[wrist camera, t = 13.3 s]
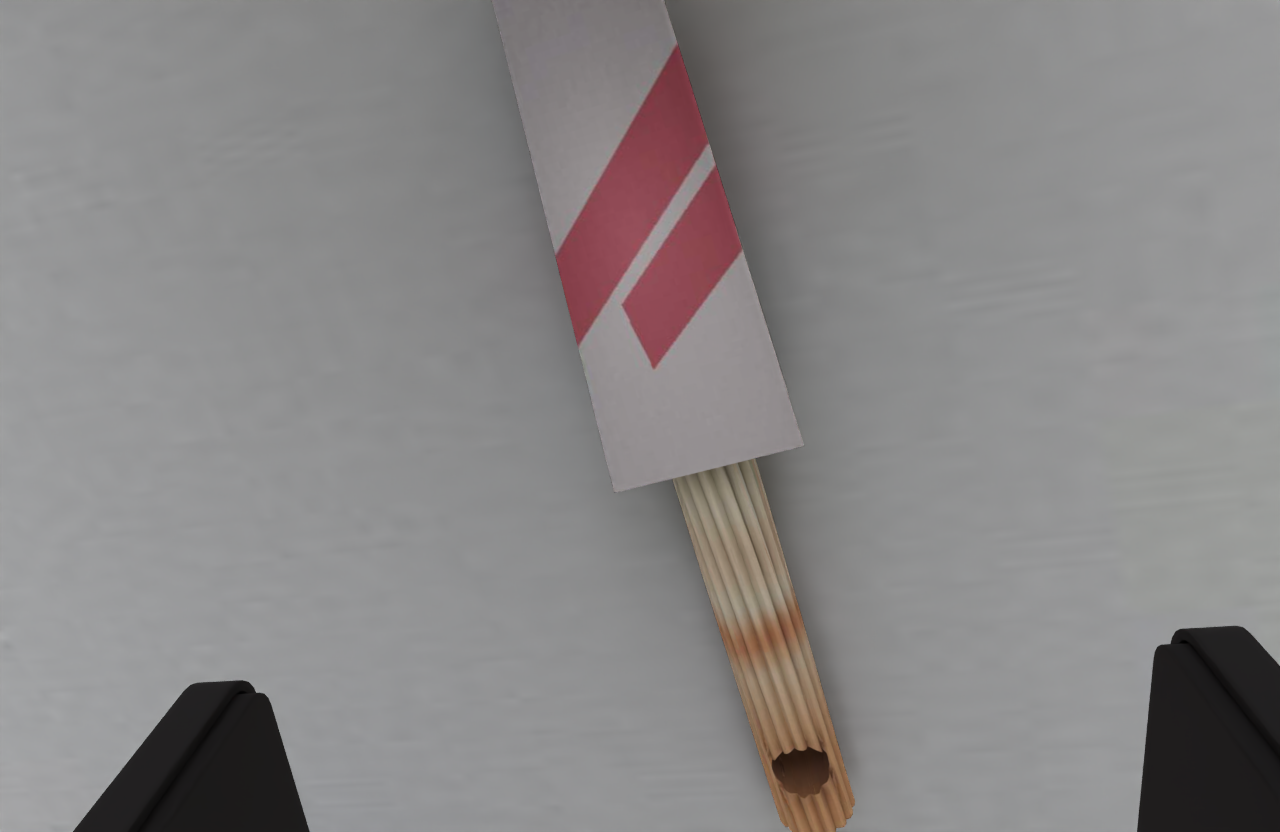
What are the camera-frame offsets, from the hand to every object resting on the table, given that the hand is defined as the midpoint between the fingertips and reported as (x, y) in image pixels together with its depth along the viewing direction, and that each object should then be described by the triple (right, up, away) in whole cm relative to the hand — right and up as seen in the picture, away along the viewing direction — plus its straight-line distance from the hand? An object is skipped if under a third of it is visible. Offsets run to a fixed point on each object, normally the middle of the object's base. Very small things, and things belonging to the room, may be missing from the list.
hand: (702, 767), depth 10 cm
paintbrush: (+1, +3, +11) cm, 12 cm away
